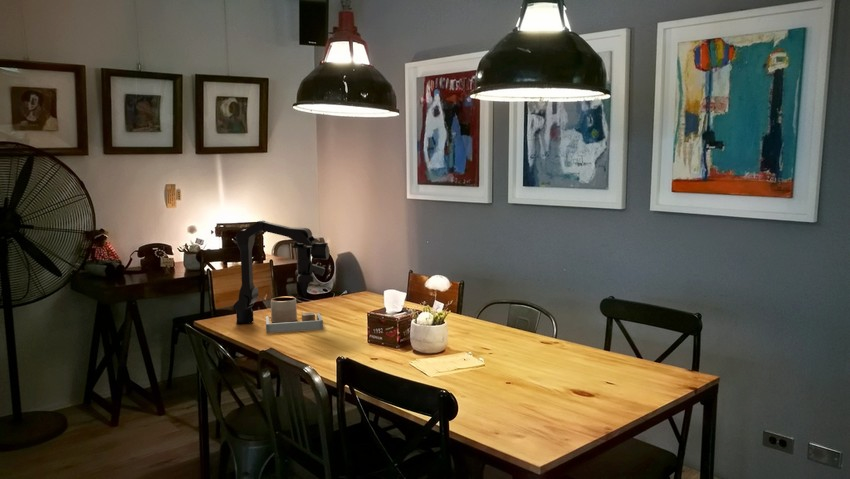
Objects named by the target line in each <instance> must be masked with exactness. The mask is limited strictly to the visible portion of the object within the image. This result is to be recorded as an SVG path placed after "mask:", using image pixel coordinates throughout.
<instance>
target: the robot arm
mask: <svg viewBox="0 0 850 479" xmlns="http://www.w3.org/2000/svg"><path fill="white" fill-rule="evenodd" d="M262 232H267V233H269V234H274V235H279V236H283V237H286V238H289V239H290V240H292V241H293V242H295V243H294V244H293V245H292V246H291V248H292V249H296V270H295V276H296V277H297V278H296V281H297V283H298V286H299V288H300V291H301V293H302V295H303V297H306V296H307V292H308V289H309V284H310V283H314V276H313V274H317V275H319V276H320V277H323V276H324V274H325V272H326V268H325V267H324V266H322V263H321V262H317V263H316V264H313V262H312V258H313V259H314V260H328V259H329V257H330V254H331V252H330V248H329V245H328V244H329V243H328V242H318V241H317V240H316V239H315V237H314V236H313V233H312V230H311V229H310V228H307V227H290V226H286V225H283V224H278V223H275V222H274V223H273V222H269V221H266V220H264V219H263V220H259V221H258V220H257V222H255V223H254V224H252V225H250V226H249V227H247V228H246V229H240V230H238V232H237V233H236V235H235V239H236V245H237V246H238V249H239V252H240V274H241V285H240V289H239V292H238V298H237V301H236V302H235V303H234V304H233V305H232V307H233V309H234V311H236V312H235V313H236V315H235V316H236V323H235V324H236V325H245V324H253V322H254V310H253V309H252V308H253V306H254V304H255V302H257V300H258V297H260V296H259V295H260V294H259V287H258V286H256V287H255V285H254V277H253V276H254V275H253V270H254V269H253V247H254V244H255V241H256V240H255V239H256V236H258V235H260V234H261V233H262Z"/></svg>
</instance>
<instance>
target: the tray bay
mask: <svg viewBox="0 0 850 479" xmlns="http://www.w3.org/2000/svg"><path fill="white" fill-rule="evenodd" d="M321 315H322V314H320V312H318V313H316V319H315V321H302V320H301V321H294V322H286V323H274V322H272V323H270V318H269V317H270V316H265V328H266V329H265V331H266V334H271V333H272V334H273V333H287V332H301V331H303V332H304V331H316V330H324V320H323V317H322V316H321Z"/></svg>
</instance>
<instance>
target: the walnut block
mask: <svg viewBox="0 0 850 479" xmlns="http://www.w3.org/2000/svg"><path fill="white" fill-rule="evenodd" d="M301 321H316V314H315V312H314V311H312V312H301Z"/></svg>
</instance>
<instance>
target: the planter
mask: <svg viewBox="0 0 850 479" xmlns="http://www.w3.org/2000/svg"><path fill="white" fill-rule="evenodd" d="M297 310H298V309H297V297H294V296H278V297H274V298H270V317H271V318H270V320H271V322H272V323H286V322H297V319H298V311H297Z"/></svg>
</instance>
